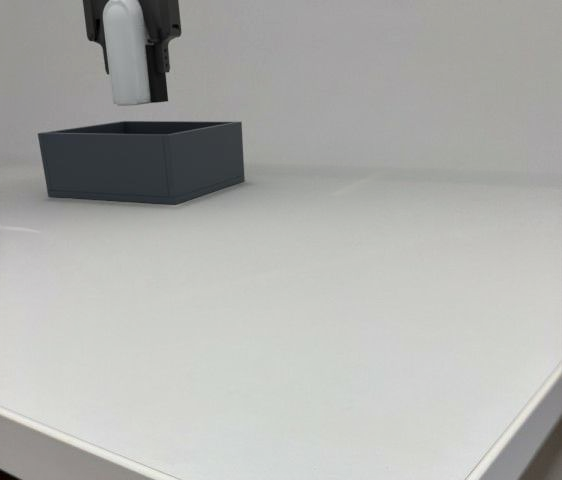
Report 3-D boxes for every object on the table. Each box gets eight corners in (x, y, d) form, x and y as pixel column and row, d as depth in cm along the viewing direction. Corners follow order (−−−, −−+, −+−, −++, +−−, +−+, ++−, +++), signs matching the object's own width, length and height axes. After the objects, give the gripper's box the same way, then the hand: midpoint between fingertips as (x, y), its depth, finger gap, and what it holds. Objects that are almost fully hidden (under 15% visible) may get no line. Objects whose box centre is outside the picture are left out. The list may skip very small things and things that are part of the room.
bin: (48, 196, 89) (37, 133, 86) (130, 175, 103) (123, 120, 100) (175, 204, 81) (168, 135, 78) (244, 181, 95) (241, 121, 92)
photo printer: (140, 102, 93) (129, -2, 88) (170, 101, 92) (161, -4, 87) (108, 107, 84) (94, -9, 78) (141, 106, 83) (129, -11, 78)
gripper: (202, -122, 77) (217, 99, 87) (76, -102, 85) (103, 101, 94) (164, -137, 71) (185, 103, 81) (32, -113, 78) (65, 104, 88)
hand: (140, 101), depth 88 cm, fingers closed on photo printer, 5 cm apart
